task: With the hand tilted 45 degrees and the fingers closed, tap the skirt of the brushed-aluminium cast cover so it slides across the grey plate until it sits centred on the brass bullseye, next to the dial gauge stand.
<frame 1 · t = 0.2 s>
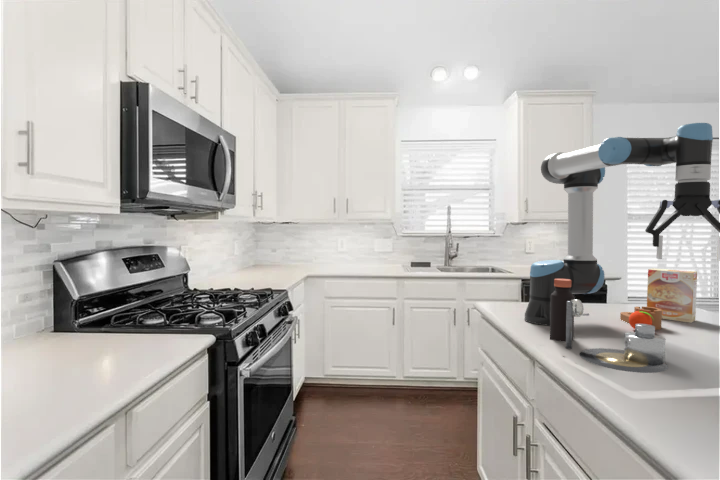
hand: (689, 259, 115), 28 cm above the worktop, tool pointing down, fingers open, 13 cm apart
coffeecake box: (670, 319, 167), on the worktop
bottle: (561, 342, 133), on the worktop
cast cover: (643, 358, 113), point 1 cm above the worktop, touching grey plate
bracket: (639, 324, 158), on the worktop
grey plate: (621, 363, 112), on the worktop
clementine: (641, 331, 148), on the worktop
dial gauge stand: (568, 352, 122), on the worktop
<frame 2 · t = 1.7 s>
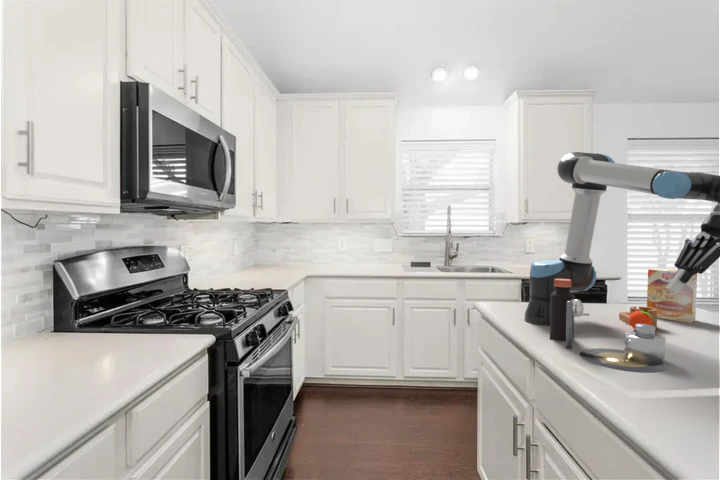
hand: (671, 290, 114), 19 cm above the worktop, tool tilted 35°, fingers closed
bracket: (637, 324, 158), on the worktop
everything else where it was.
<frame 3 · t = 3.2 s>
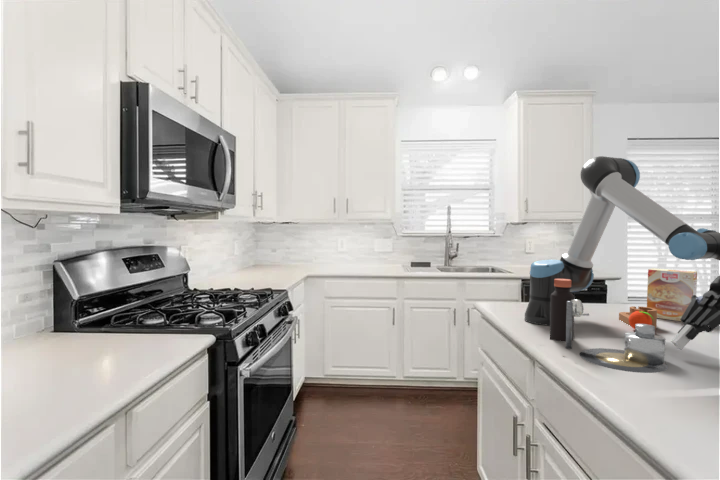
hand: (676, 345, 114), 5 cm above the worktop, tool tilted 45°, fingers closed
nothing on the worktop moved.
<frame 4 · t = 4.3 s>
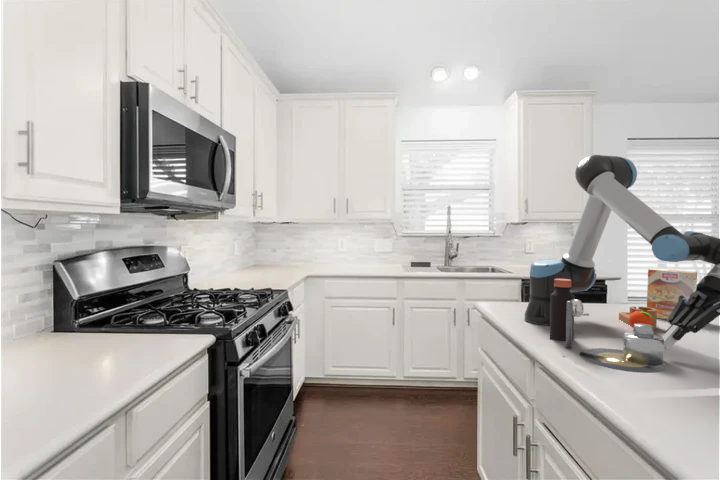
hand: (663, 346, 113), 5 cm above the worktop, tool tilted 45°, fingers closed
cast cover: (642, 358, 113), point 1 cm above the worktop, touching gripper
everything else where it was.
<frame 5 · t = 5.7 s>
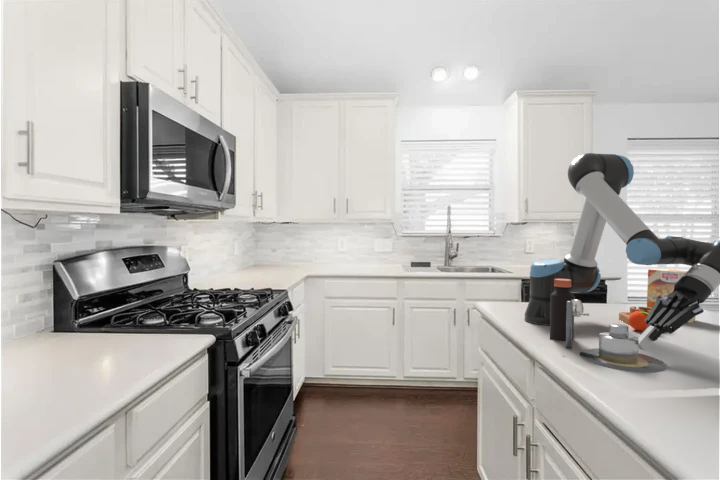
hand: (639, 346, 112), 5 cm above the worktop, tool tilted 45°, fingers closed
cast cover: (617, 358, 112), point 1 cm above the worktop, touching gripper
everything else where it was.
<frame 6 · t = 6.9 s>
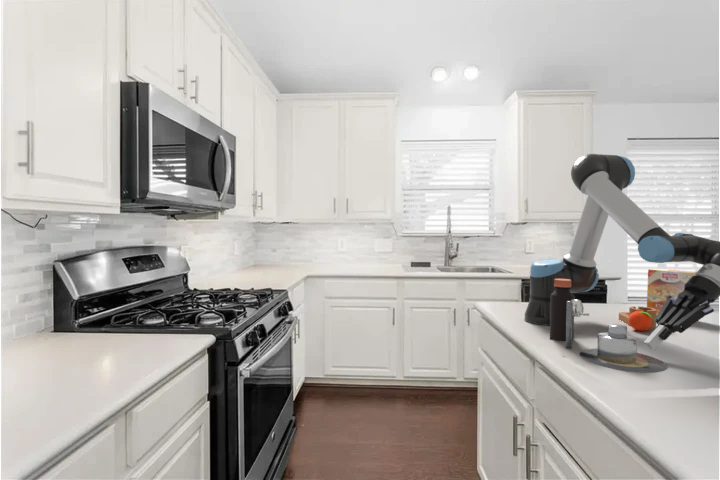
hand: (649, 345, 113), 5 cm above the worktop, tool tilted 45°, fingers closed
cast cover: (616, 358, 112), point 1 cm above the worktop, touching grey plate
bracket: (636, 324, 158), on the worktop, touching clementine
clementine: (641, 331, 147), on the worktop, touching bracket
everything else where it was.
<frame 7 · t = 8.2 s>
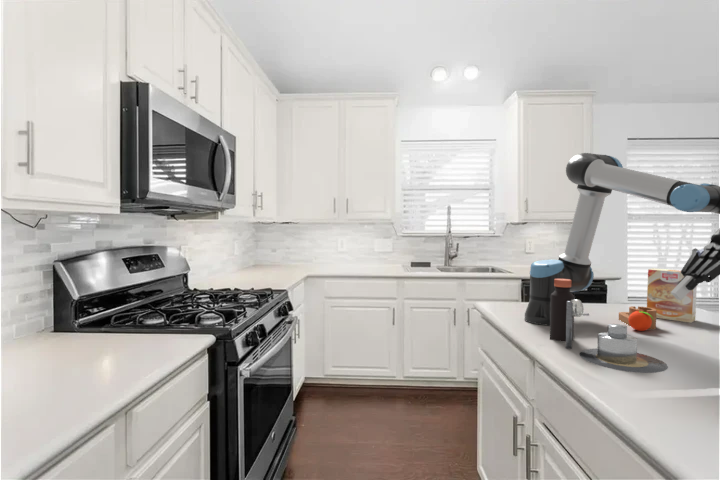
hand: (675, 296, 114), 18 cm above the worktop, tool tilted 45°, fingers closed
bracket: (636, 324, 158), on the worktop
clementine: (641, 331, 147), on the worktop
everything else where it was.
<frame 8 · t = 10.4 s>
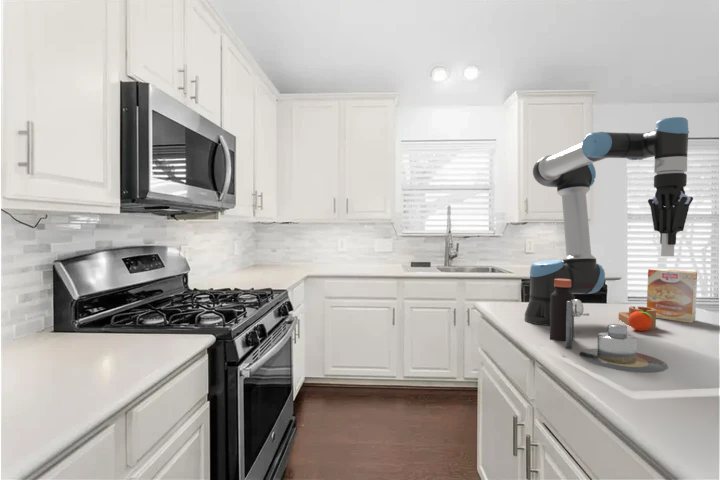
hand: (667, 256, 120), 28 cm above the worktop, tool pointing down, fingers closed
nothing on the worktop moved.
at the end: cast cover 1.2 cm from the grey plate (horizontally); cast cover tilted 0°; cast cover moved 7.6 cm from its start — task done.
